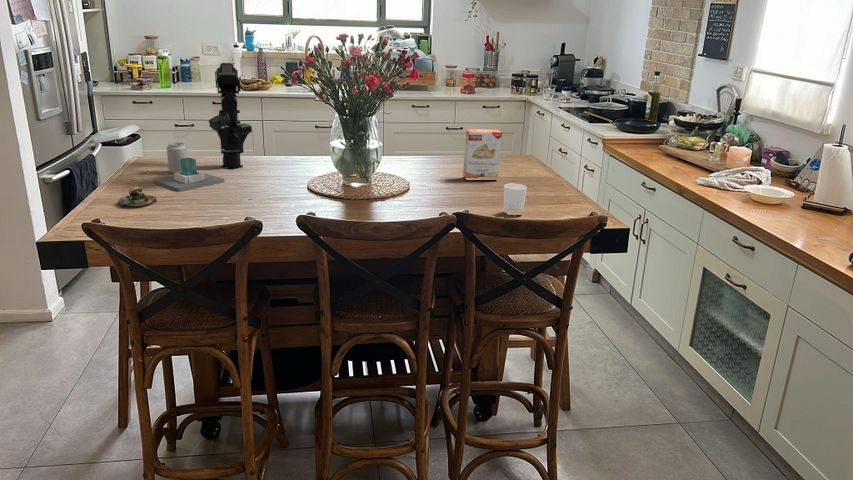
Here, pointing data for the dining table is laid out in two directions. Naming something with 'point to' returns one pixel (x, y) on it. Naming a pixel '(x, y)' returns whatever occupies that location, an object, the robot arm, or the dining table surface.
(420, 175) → the dining table surface
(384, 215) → the dining table surface
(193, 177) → the holder
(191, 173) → the peg
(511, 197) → the white cup
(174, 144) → the can
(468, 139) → the cracker box
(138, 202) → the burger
